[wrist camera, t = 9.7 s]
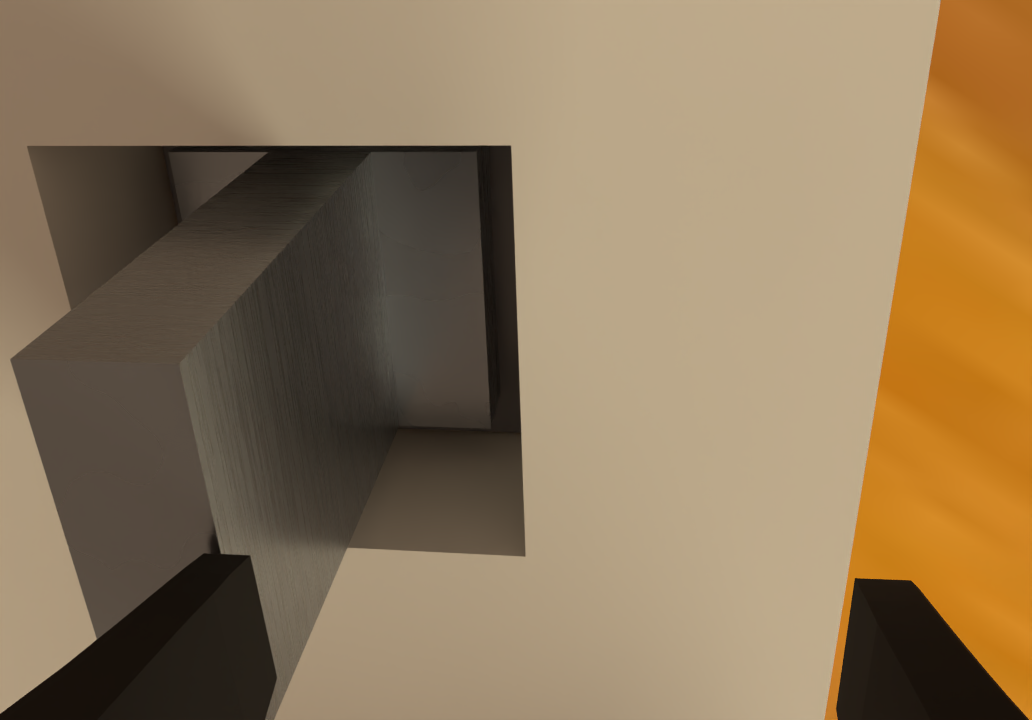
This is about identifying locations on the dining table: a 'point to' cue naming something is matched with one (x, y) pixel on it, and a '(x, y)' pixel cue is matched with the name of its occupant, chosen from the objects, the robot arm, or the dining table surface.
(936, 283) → the dining table surface
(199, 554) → the tall grey block
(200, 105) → the well block
